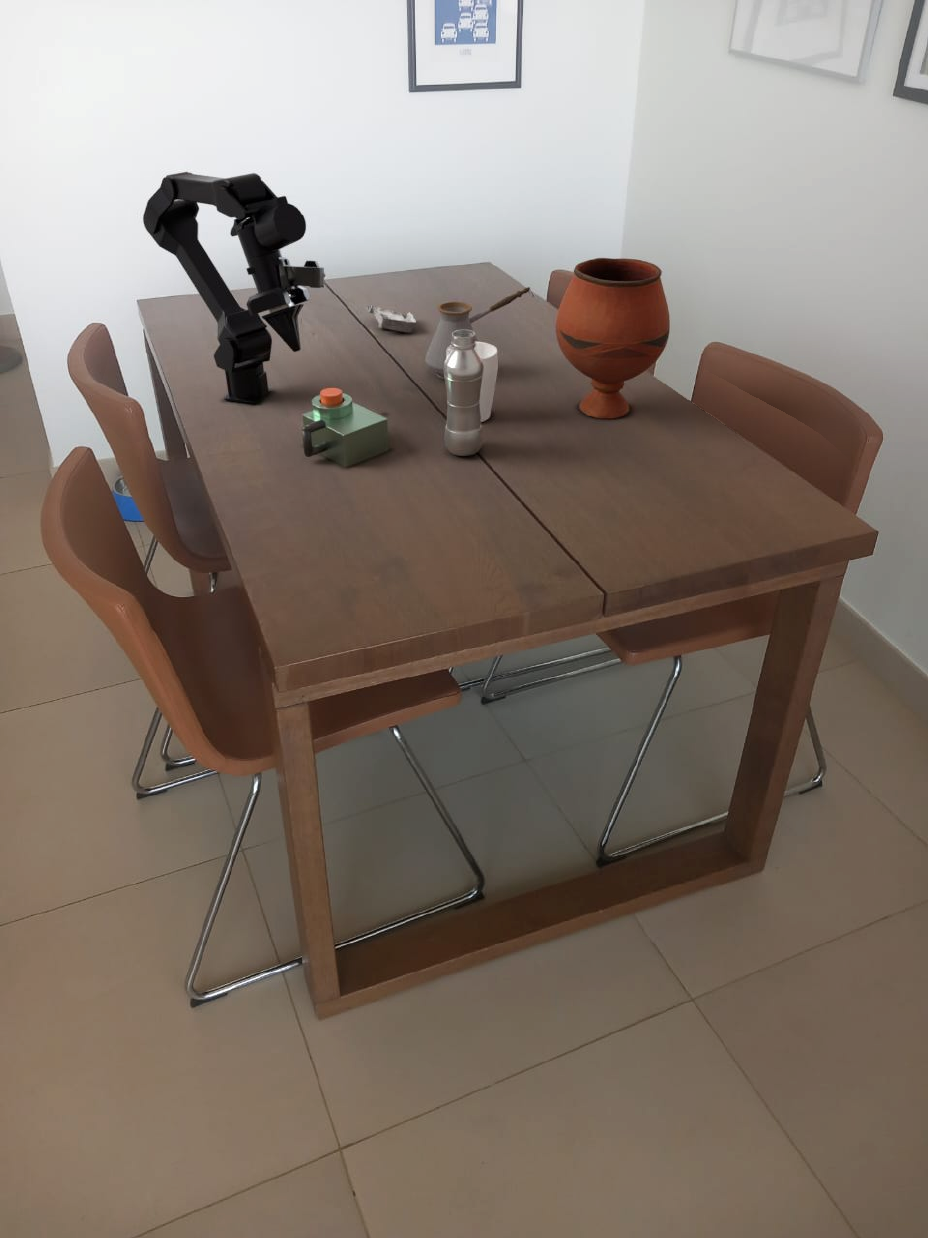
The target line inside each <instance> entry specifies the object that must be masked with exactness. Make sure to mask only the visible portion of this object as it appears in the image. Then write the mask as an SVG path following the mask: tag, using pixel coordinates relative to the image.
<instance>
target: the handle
mask: <svg viewBox="0 0 928 1238" xmlns="http://www.w3.org/2000/svg"><path fill="white" fill-rule="evenodd" d="M325 425H326V423H325V421H324V420H319V421H316V422H313V423H310V424H308V425H305V426H304V425H303V426H302V427H301V437H302V445H303V455H304V456H305V457H306V458H311V457H313V456H317V455H319V454H320V453H321V452H324V451H326V450H327V446H326V444H325V443H320V444H318V445H315V446H312V438H311V433H312V432H315V431H317V430H320V429H323V428H324V427H325Z"/></svg>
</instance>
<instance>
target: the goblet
mask: <svg viewBox="0 0 928 1238" xmlns="http://www.w3.org/2000/svg"><path fill="white" fill-rule="evenodd" d="M662 272H663V271H662V269H661V268H660V267H659V266H658V265H656V264H655V263H652V262H649V261H647V260H641V259H635V258H610V257H596V258H592V259H587V260H586V261H582V262H580V263H578V264H576V265H575V267H574V269H573V276H572V277H571V280H570V283H569V285H568V287H567V289H566V290H565V293H564V294H563V297H562V298H561V299H562V300H561V302H560V305H559V307H558V310H557V313H556V320H555V335H556V340H557V343H558V346H559V349H560V351H561V353H562V355H563V356H564V358H565V359H566V360H567V361H568V362H569V363H570V364H571V365H572V366H573V367H574V368H575V369H576V370H577V371H578V372H579V373H581V374H582V375H584V376H586V377H587V378H589V379H591V382H590V385H591V386H592V387H593V389H592V390H591V391H590V392H589V393H588V394H586V396H584V397H583V398H582V399H581V401H580V403H579V410H580V411H581V412H582V413H583V414H584V415H586V416H588V417H592V418H597V419H617V418H621V417H624V416H625V415H627V414H628V413H629V412H630V407H629V404H628V401H627V400H626V398H625V397H624V396H623V394H622V393H621V392H620V390H622V389H623V388H624V385H625V382H628V381H629V380H632V379H634V378H636V377H638V376H639V375H641V374H643V373H645V372H646V371H647V370H648V369H649V368H651V367H652V366H653V365H654V364H655V363H656V362H657V361H658V360H659V358H660V357H661V356H662V354H663V352H664V351H665V349H666V347H667V344H668V341H669V338H670V328H671V327H670V326H671V323H670V322H671V321H670V320H671V319H670V310H669V304H668V301H667V296H666V294H665V289H664V285H663V282H662V278H661V277H662Z"/></svg>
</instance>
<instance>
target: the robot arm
mask: <svg viewBox="0 0 928 1238" xmlns="http://www.w3.org/2000/svg"><path fill="white" fill-rule="evenodd" d="M199 204H204V205H210V206H214V207H215V208H216V211H217V212H218V213H220V214H222V215H224V216H227V217H228V218H234V219H233V225H232V227H231V228H230V233H229V234H230V236H231V237H238V240H239V243H240V246H241V249H242V252H243V254H244V257H245V259H246V262H247V265H248V267H247V268H246V272H247V275H248V276H252V279H253V282H254V284H255V287H256V290H257V293H255V294H253V295H251V296H249V297H248V300H247V301H246V304H245V305H246V307H247V309H245V308H243V307H241V305H240V304H239V302H238V300H237V299H236V297H235V296H234V294H233V293H232V291H231V290H230V288H229V287H228V285H227V283H226V281H225V280H224V279H223V277H222V275H221V273H220V272H219V270H218V269H217V267H216V266H215V264H214V262H213V261H212V259H211V258H210V256H209V255H208V253H207V251H206V249H205V248H204V246H203V245H202V243H201V241H200V240H199V222H198V219H197V216H198V214H199V211H200V206H199ZM142 222H143V226H144V229H145V230H146V232H147V233H148V234H149V235H150V237H151V238H152V239H153V241H154V242H155V243H156V244H157V245H158V247H159V248H162V249H163V250H165V251H166V252H168V253H170V254H172V255H174V256H175V257H176V259H177V260H178V262H179V264H180V265H181V267H182V268H183V270H184V272H185V273H186V275H187V276H188V278H189V279H190V281H191V283H192V285H193V286H194V287H195V289H196V290H197V293H198V294H199V295H200V298H201V299H202V300H203V302H204V303H205V306H206V307H207V308H208V310H209V311H210V313H211V315H212V316H213V318H214V320H215V321H216V323H217V341H218V343H219V346H218V347H217V349H216V350H215V352H214V354H213V359H214V362H215V365H216V367H217V368H219V369H221V370H224V374H225V380H226V388H227V394H226V395H225V396H224V397H223V399H224V401H228V402H235V403H236V402H237V403H244V404H251V405H256V404H258V403H259V402H260V401H261V400H263V399H264V398H265V397H267V395H269V394H270V393H271V392H272V389H271V388H270V387H269V385H268V376H267V375H268V374H267V372H266V371H265V369H264V368H265V367H264V363H267V362H270V361H271V354H272V347H273V338H272V335H271V333H270V331H269V330H268V325H269V326H270V327H271V329H272V330H274V331H275V333H276V334H277V335H278V336H279V337H280V338H281V340H282V341H284V343H285V344H286V345H287V347H288V348H290V350H291V351H292V352H293V353H297V352H300V351H301V349H302V347H301V337H300V329H299V315H300V312H301V311H302V309H303V308H304V306H305V302H308V301H311V297H310V294H309V291H308V289H307V288H306V287H309V288H311V289H313V288H314V289H321V288H325V277H326V273H325V268H324V267H323V266H320V265H319V263H318V261H317V260H305V263H304V265H302V266H301V265H291V263H290V260H289V258H287V257H286V256H285V257H283V254H282V250H281V249H283V248H286V247H288V246H291V245H292V244H294V243H296V242H298V241H300V240H302V239H303V238H304V236H305V234H306V231H307V222H306V218H305V215H304V214H302V212H301V211H300V210H299V209H298V207H297V206H295V205H294V204H291V203H289V202H288V199H287V196H286V195H282V196H277V195H276V194H275V193H274V192H273V190H272V189H271V188H270V187H269V186H268V185H267V184H266V183H265V182H264V181H263V180H262V177H261V176H260V175H259V174H257V173H256V172H252V173H247V174H241V175H237V176H230V177H226V178H225V177H218V176H209V175H204V174H203V175H202V174H194V173H192V172H189V171H183V172H177V173H172V174H167V175H166V176H165V177H163V178H162V180H161V183H160V186H159V187H158V189H157V190H156V191H155V192H154V193H153V194H152V195H151V196H150V198H149V199H148V200H147V202H146V206H145V209H144V212H143V216H142ZM266 311H268V313H267V314H263V315H260V313H264V312H266ZM263 320H264V321H265V322H266V323H267V324H268V325H267V324H266V323H265V322H264V321H263Z"/></svg>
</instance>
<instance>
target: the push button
mask: <svg viewBox="0 0 928 1238" xmlns="http://www.w3.org/2000/svg"><path fill="white" fill-rule="evenodd" d="M342 393H343V390H342V389H341V388H337V387H327V388H323V389H321V391H320V392H319V395H320V397H321V404H323V405H327V406H333V405H339V404H342V403H343V395H342Z"/></svg>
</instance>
